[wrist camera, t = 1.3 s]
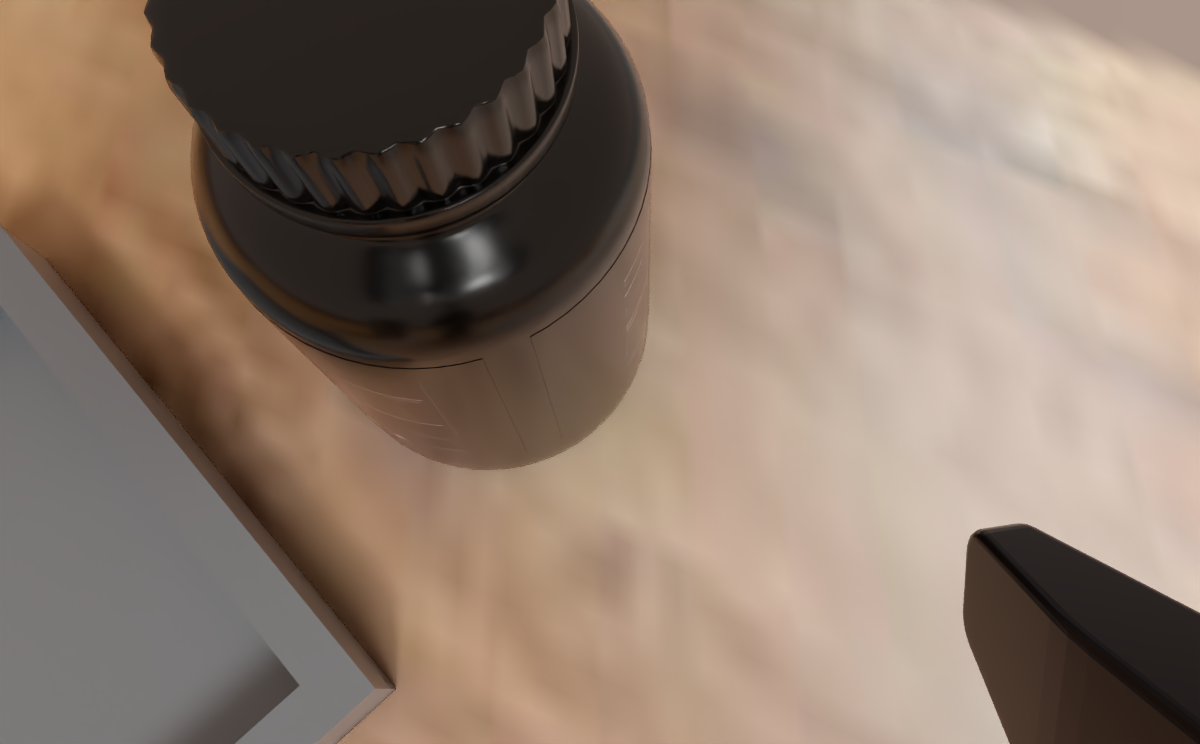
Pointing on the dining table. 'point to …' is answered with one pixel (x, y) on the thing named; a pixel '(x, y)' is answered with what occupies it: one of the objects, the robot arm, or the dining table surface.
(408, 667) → the dining table surface
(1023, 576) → the robot arm
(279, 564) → the tray
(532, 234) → the supplement bottle
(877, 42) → the dining table surface
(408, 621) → the dining table surface
